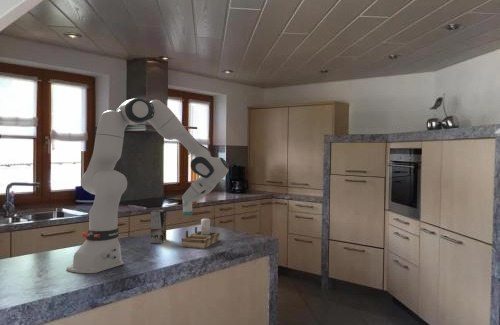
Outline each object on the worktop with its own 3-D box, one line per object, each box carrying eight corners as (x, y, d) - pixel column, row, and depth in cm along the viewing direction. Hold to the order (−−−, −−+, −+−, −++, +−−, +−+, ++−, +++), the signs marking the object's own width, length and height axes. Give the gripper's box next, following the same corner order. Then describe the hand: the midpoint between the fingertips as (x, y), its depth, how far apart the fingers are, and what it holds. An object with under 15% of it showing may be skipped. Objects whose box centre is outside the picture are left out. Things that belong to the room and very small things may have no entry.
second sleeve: (207, 237, 206) (207, 220, 205) (199, 237, 207) (199, 219, 207) (211, 235, 210) (211, 218, 210) (203, 235, 212) (203, 218, 211)
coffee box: (162, 243, 203) (162, 211, 203) (150, 243, 203) (150, 211, 203) (166, 239, 212) (166, 209, 212) (154, 239, 212) (154, 209, 212)
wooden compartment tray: (203, 248, 192) (203, 234, 192) (181, 246, 196) (181, 232, 196) (219, 240, 211) (219, 227, 211) (198, 238, 215) (198, 225, 215)
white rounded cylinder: (189, 215, 195) (189, 197, 195) (181, 214, 197) (180, 196, 196) (194, 213, 200) (193, 195, 199) (185, 213, 201) (185, 195, 201)
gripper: (208, 179, 205) (191, 197, 209) (190, 182, 186) (172, 202, 189) (216, 187, 204) (199, 206, 207) (199, 192, 185) (181, 212, 188)
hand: (186, 204), depth 198 cm, fingers closed on white rounded cylinder, 5 cm apart
